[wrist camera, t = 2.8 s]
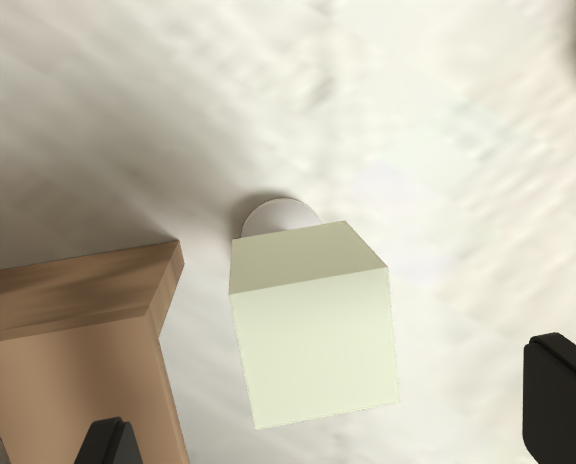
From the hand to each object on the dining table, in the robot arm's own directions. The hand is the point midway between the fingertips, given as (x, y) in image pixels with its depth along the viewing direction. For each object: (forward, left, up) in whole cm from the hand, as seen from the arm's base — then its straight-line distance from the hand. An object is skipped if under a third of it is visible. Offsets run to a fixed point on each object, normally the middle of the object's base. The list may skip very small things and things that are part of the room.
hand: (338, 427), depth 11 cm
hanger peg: (0, +1, -17) cm, 17 cm away
